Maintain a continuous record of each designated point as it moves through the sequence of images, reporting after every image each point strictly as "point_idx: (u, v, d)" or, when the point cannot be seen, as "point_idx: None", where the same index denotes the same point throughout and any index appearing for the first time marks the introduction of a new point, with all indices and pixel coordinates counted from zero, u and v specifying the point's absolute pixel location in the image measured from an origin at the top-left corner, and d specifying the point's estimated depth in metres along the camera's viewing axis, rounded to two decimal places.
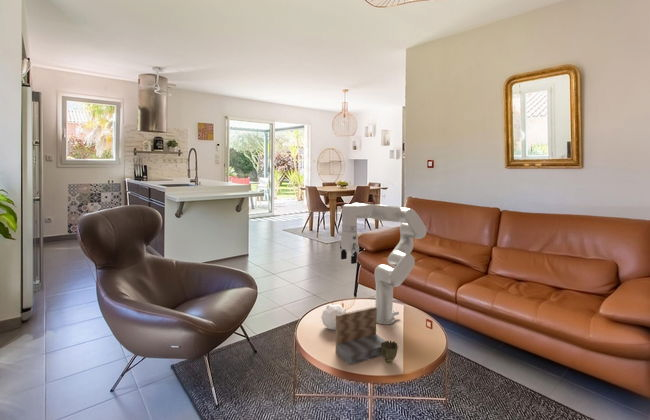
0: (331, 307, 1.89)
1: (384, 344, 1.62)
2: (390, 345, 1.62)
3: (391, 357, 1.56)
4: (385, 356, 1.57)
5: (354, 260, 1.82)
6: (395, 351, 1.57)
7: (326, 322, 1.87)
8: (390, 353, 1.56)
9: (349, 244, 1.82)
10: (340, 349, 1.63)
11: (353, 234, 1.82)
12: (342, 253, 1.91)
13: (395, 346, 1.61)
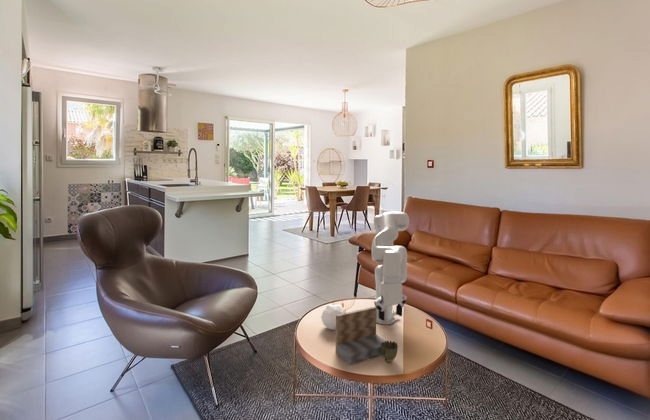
0: (331, 307, 1.89)
1: (384, 344, 1.62)
2: (390, 345, 1.62)
3: (391, 357, 1.56)
4: (385, 356, 1.57)
5: None
6: (395, 351, 1.57)
7: (326, 322, 1.87)
8: (390, 353, 1.56)
9: (401, 295, 1.56)
10: (340, 349, 1.63)
11: None
12: None
13: (395, 346, 1.61)
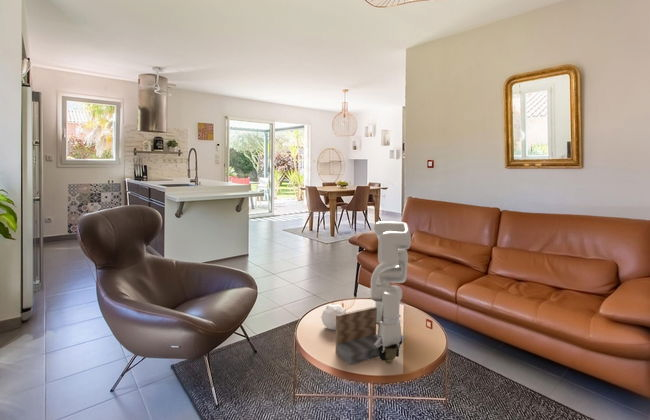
0: (331, 307, 1.89)
1: None
2: (390, 345, 1.62)
3: (391, 357, 1.56)
4: (385, 356, 1.57)
5: None
6: (395, 351, 1.57)
7: (326, 322, 1.87)
8: (390, 353, 1.56)
9: (399, 335, 1.58)
10: (340, 349, 1.63)
11: None
12: None
13: (395, 346, 1.61)
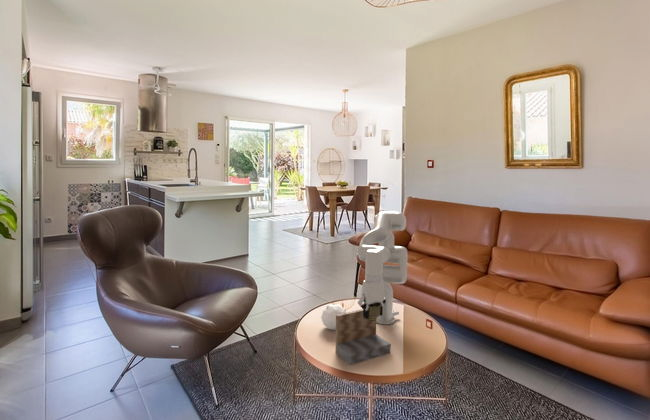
0: (331, 307, 1.89)
1: None
2: (374, 304, 1.64)
3: (375, 315, 1.58)
4: (369, 314, 1.58)
5: None
6: (379, 309, 1.58)
7: (326, 322, 1.87)
8: (374, 311, 1.57)
9: (383, 293, 1.60)
10: (340, 349, 1.63)
11: None
12: None
13: (379, 305, 1.62)
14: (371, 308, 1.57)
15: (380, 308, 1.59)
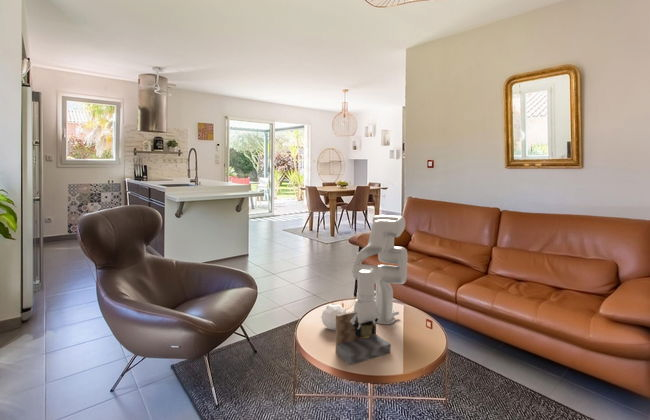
0: (331, 307, 1.89)
1: None
2: (366, 322, 1.68)
3: (366, 333, 1.62)
4: (361, 333, 1.63)
5: None
6: (370, 328, 1.62)
7: (326, 322, 1.87)
8: (365, 330, 1.61)
9: (375, 312, 1.64)
10: (340, 349, 1.63)
11: None
12: None
13: (371, 323, 1.66)
14: (363, 327, 1.61)
15: (372, 327, 1.63)
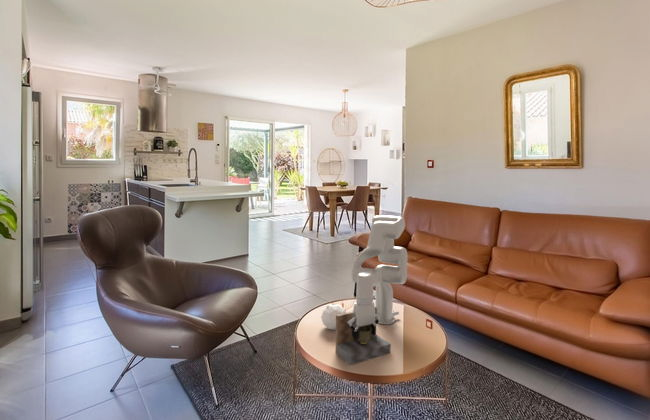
0: (331, 307, 1.89)
1: (359, 327, 1.68)
2: (365, 328, 1.69)
3: (365, 339, 1.63)
4: (359, 339, 1.63)
5: None
6: (369, 334, 1.63)
7: (326, 322, 1.87)
8: (364, 335, 1.62)
9: (373, 315, 1.64)
10: (340, 349, 1.63)
11: None
12: None
13: (369, 329, 1.67)
14: (361, 333, 1.62)
15: (370, 333, 1.64)
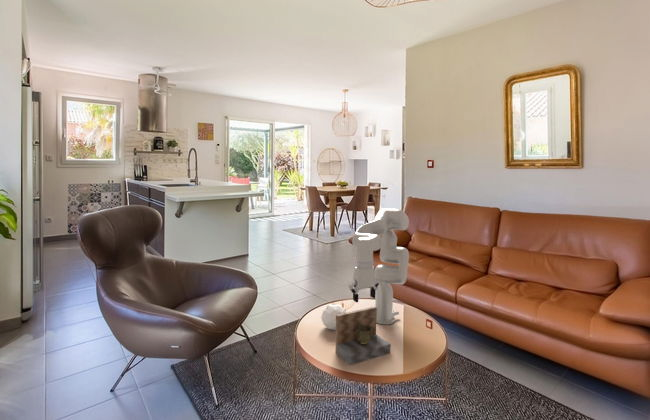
0: (331, 307, 1.89)
1: (359, 327, 1.68)
2: (365, 328, 1.69)
3: (365, 339, 1.63)
4: (359, 339, 1.63)
5: None
6: (369, 334, 1.63)
7: (326, 322, 1.87)
8: (364, 335, 1.62)
9: (374, 279, 1.68)
10: (340, 349, 1.63)
11: None
12: None
13: (369, 329, 1.67)
14: (361, 333, 1.62)
15: (370, 333, 1.64)
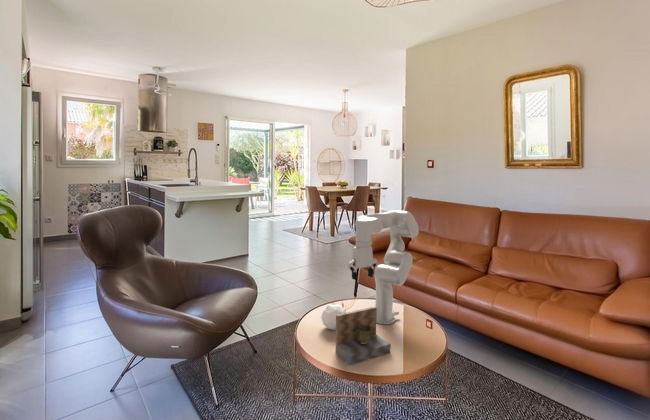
0: (331, 307, 1.89)
1: (359, 327, 1.68)
2: (365, 328, 1.69)
3: (365, 339, 1.63)
4: (359, 339, 1.63)
5: None
6: (369, 334, 1.63)
7: (326, 322, 1.87)
8: (364, 335, 1.62)
9: (371, 258, 1.79)
10: (340, 349, 1.63)
11: None
12: None
13: (369, 329, 1.67)
14: (361, 333, 1.62)
15: (370, 333, 1.64)
